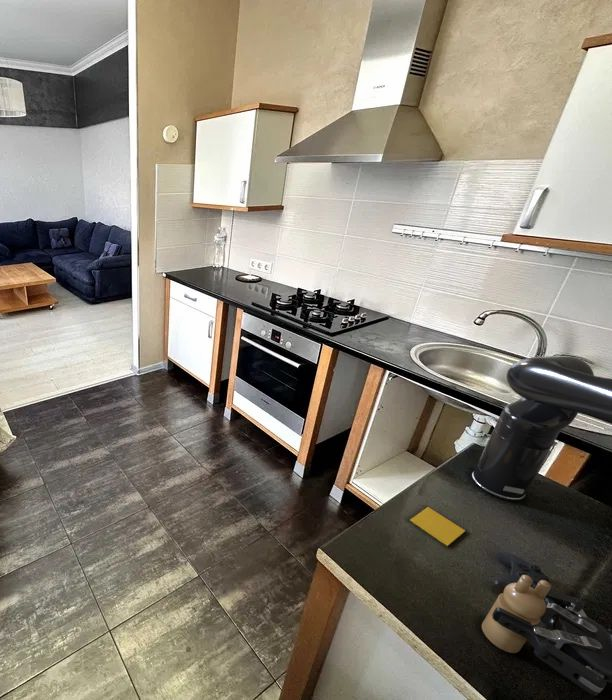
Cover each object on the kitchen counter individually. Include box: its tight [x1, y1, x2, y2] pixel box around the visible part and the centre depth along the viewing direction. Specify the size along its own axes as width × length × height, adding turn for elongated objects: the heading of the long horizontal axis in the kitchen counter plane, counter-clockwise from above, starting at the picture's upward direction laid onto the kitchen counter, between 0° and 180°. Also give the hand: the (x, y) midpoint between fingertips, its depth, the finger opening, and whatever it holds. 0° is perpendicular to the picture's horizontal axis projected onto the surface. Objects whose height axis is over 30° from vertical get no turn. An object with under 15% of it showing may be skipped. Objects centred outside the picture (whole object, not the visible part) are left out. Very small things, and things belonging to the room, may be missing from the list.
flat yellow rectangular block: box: [409, 506, 466, 547], centre depth 77 cm, size 7×7×1 cm
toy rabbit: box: [481, 575, 552, 654], centre depth 56 cm, size 5×5×13 cm
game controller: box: [490, 550, 550, 598], centre depth 65 cm, size 10×5×6 cm
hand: (494, 599), depth 57 cm, fingers closed on toy rabbit, 4 cm apart
